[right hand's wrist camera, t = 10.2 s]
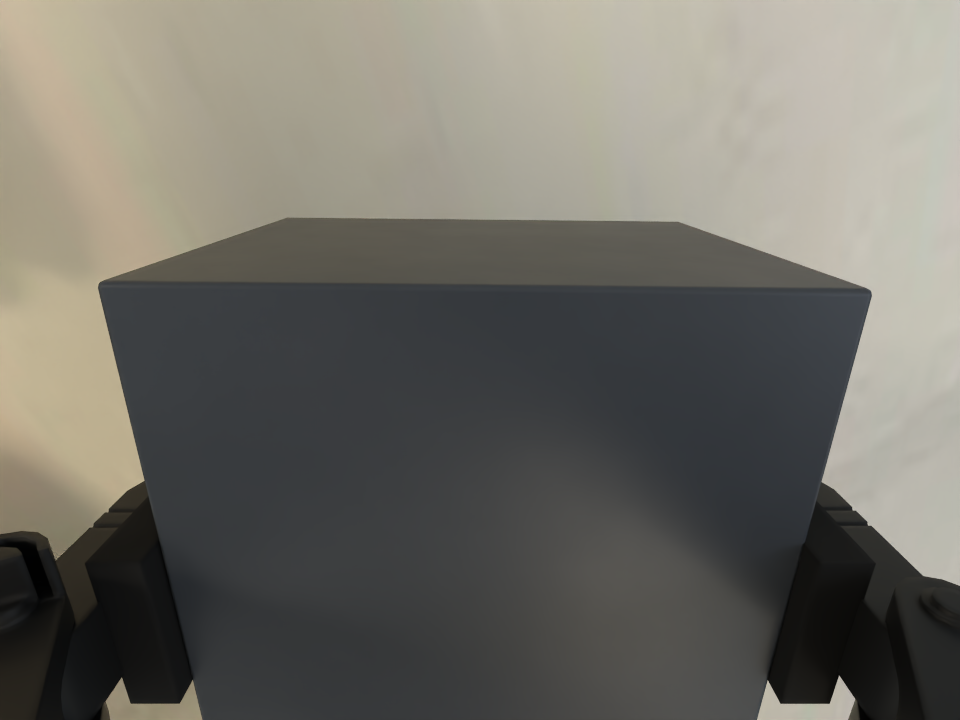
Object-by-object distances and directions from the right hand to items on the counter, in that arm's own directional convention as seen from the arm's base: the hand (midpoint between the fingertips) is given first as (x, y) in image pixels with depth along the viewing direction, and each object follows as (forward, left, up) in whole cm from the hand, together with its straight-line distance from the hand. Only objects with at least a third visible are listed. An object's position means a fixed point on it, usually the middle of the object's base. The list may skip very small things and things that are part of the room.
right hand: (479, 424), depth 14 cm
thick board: (+12, -21, -1) cm, 24 cm away
